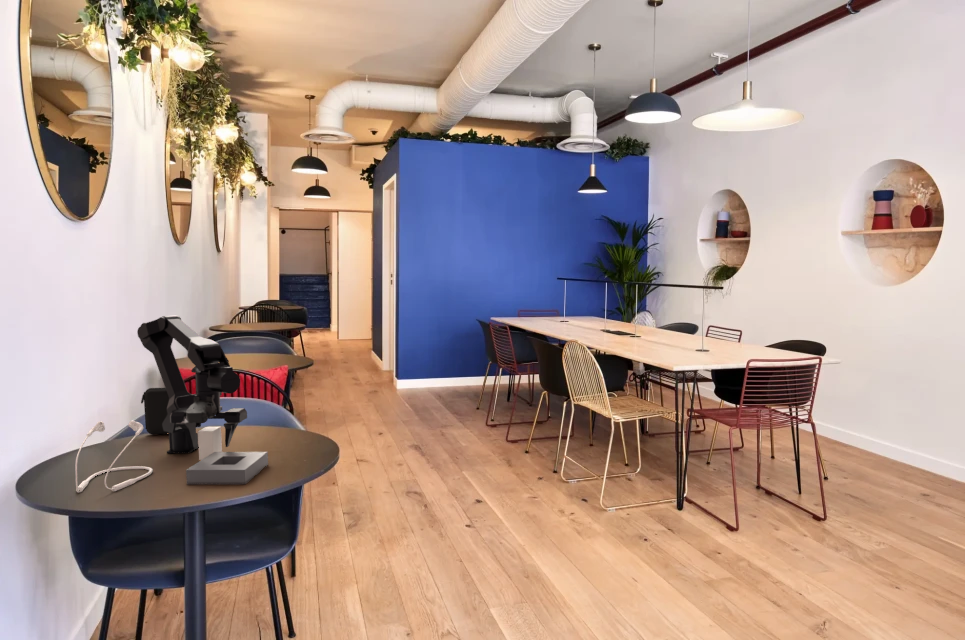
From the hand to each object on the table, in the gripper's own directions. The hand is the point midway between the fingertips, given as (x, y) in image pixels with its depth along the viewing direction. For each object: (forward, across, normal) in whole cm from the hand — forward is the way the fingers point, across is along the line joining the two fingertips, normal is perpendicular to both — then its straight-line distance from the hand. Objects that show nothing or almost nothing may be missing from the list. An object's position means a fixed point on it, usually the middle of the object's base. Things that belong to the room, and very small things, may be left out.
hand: (210, 446), depth 172 cm
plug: (+3, 0, 0) cm, 3 cm away
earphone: (+3, -15, -19) cm, 24 cm away
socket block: (+3, +11, -14) cm, 18 cm away
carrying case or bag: (+3, -27, +25) cm, 37 cm away
